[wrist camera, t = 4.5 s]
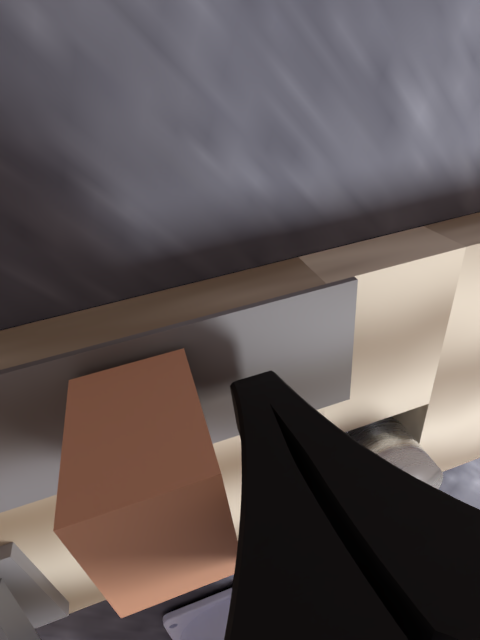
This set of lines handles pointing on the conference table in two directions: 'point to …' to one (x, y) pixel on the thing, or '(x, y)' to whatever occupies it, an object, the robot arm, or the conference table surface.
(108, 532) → the slide paddle
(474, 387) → the control panel
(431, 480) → the push button
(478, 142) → the conference table surface
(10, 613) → the rocker switch
